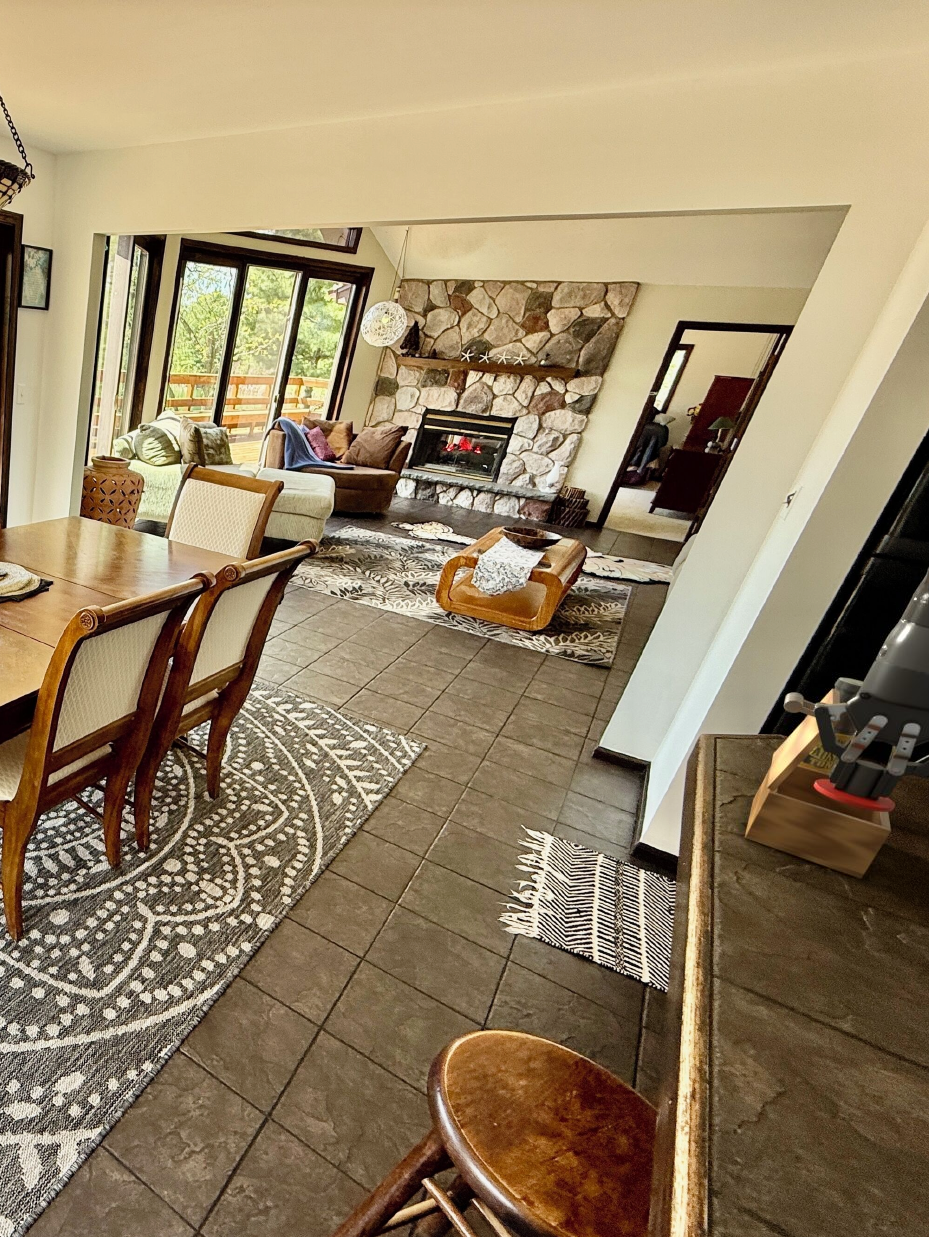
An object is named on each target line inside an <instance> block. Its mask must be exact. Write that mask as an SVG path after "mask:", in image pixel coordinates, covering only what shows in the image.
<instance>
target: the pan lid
mask: <svg viewBox="0 0 929 1237" xmlns="http://www.w3.org/2000/svg"><path fill="white" fill-rule="evenodd" d="M855 765H856V766H855V767H854V769H853V771H852V773H851V775H850V776H849V778H848V780H847V782H846V784H845V785H844V787H843V789H842V790H838V789H835V788H833V784H834V783H830V779H819V780H817V781H816V782H815V784H814V787H815V789H816V790H818V791H819V792H821V793H822V794H824V795H826V796H828V797H830V798H832V799H835V800H837V801H840V802H842V803H845V804H848V805H852V806H855V807H859V808H863V809H867V810H872V811H879V812H888V813H889V812H892V811H894V809H895V807H896V803H895V801H893V800H891V799H890V798H889V797H887V798H883V797H879V799H878V800H877V801H876V800H873V799H870V798H869V796H870V794H871V792H872V790H873V789H874V787H875V785H876V783H877V782H878V780H879V778H880V776H881V775H882V773H883V771H884V768H885V767H884V766H882V765H880V764H877V763H874V762H871V761H867V760H861V759H856V760H855Z"/></svg>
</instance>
